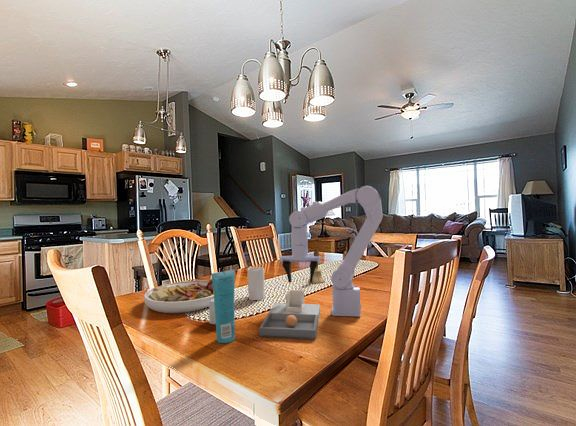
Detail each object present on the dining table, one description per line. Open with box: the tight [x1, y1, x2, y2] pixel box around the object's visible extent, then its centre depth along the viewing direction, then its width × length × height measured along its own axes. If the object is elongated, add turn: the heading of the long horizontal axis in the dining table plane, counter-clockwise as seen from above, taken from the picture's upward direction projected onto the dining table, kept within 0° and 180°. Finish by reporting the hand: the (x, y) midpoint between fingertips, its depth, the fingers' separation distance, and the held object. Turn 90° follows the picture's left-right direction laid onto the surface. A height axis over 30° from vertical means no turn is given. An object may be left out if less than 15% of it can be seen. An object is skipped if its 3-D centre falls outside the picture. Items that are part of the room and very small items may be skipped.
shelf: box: [268, 302, 321, 323], centre depth 102 cm, size 16×10×2 cm, turn 81°
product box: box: [208, 299, 235, 325], centre depth 98 cm, size 6×6×7 cm
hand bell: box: [307, 247, 326, 284], centre depth 147 cm, size 8×8×16 cm
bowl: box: [143, 278, 214, 314], centre depth 119 cm, size 30×30×8 cm
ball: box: [286, 315, 297, 327], centre depth 92 cm, size 3×3×3 cm
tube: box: [210, 269, 236, 344], centre depth 84 cm, size 7×5×19 cm, turn 140°
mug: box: [247, 266, 265, 301], centre depth 123 cm, size 10×7×12 cm, turn 21°
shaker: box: [285, 289, 305, 312], centre depth 102 cm, size 5×7×5 cm
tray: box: [258, 312, 319, 340], centre depth 91 cm, size 16×12×2 cm
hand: (300, 282), depth 109 cm, fingers open, 7 cm apart
